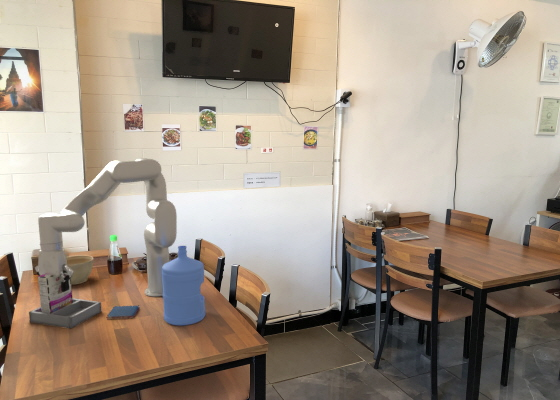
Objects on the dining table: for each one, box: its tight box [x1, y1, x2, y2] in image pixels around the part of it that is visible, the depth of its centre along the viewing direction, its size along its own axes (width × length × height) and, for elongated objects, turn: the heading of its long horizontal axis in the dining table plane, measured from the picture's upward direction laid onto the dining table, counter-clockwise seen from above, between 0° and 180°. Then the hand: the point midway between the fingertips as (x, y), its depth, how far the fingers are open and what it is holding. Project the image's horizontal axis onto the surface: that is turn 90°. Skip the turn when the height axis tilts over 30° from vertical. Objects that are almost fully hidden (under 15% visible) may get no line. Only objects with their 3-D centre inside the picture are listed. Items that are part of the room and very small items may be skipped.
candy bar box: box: [37, 273, 73, 314], centre depth 164 cm, size 11×5×16 cm, turn 162°
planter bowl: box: [66, 254, 94, 286], centre depth 204 cm, size 16×16×11 cm
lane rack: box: [28, 297, 102, 330], centre depth 164 cm, size 19×16×4 cm
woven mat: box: [105, 304, 140, 321], centre depth 167 cm, size 10×11×2 cm
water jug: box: [162, 245, 206, 326], centre depth 161 cm, size 16×16×28 cm
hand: (55, 289), depth 164 cm, fingers open, 9 cm apart
